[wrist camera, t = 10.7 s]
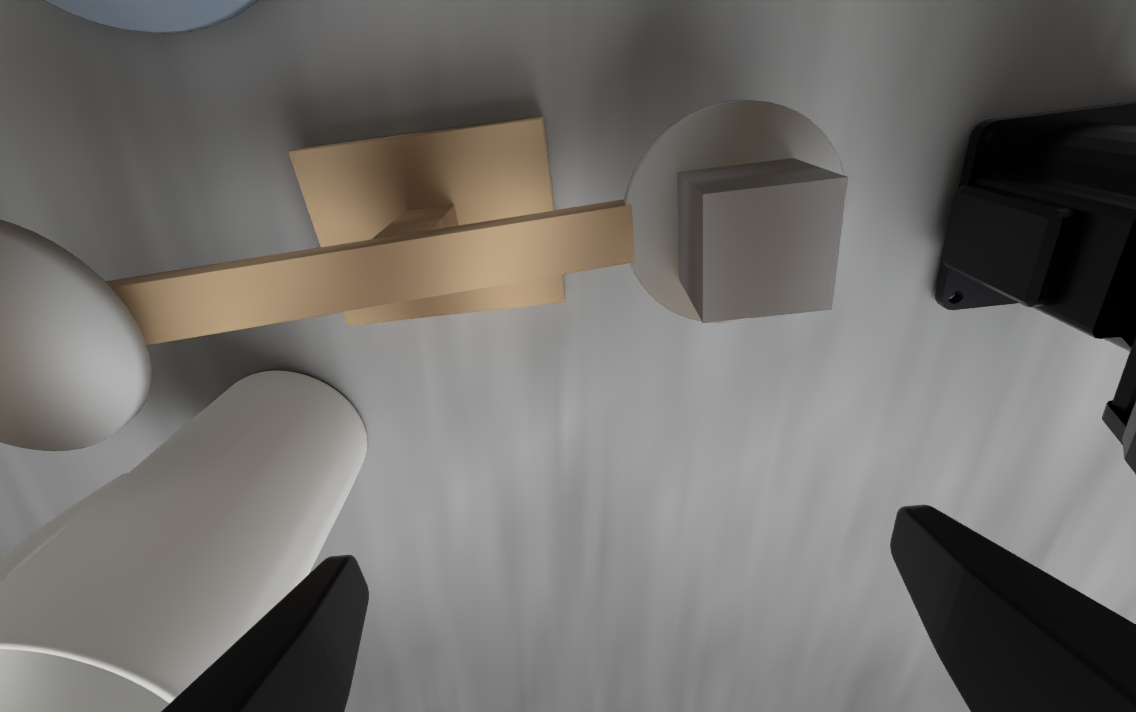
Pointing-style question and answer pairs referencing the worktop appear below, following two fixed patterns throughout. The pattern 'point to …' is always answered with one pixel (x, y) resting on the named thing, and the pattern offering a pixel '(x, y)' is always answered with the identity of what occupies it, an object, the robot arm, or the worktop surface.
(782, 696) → the worktop surface
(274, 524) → the mug
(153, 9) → the dish
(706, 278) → the balance
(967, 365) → the worktop surface
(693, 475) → the worktop surface
